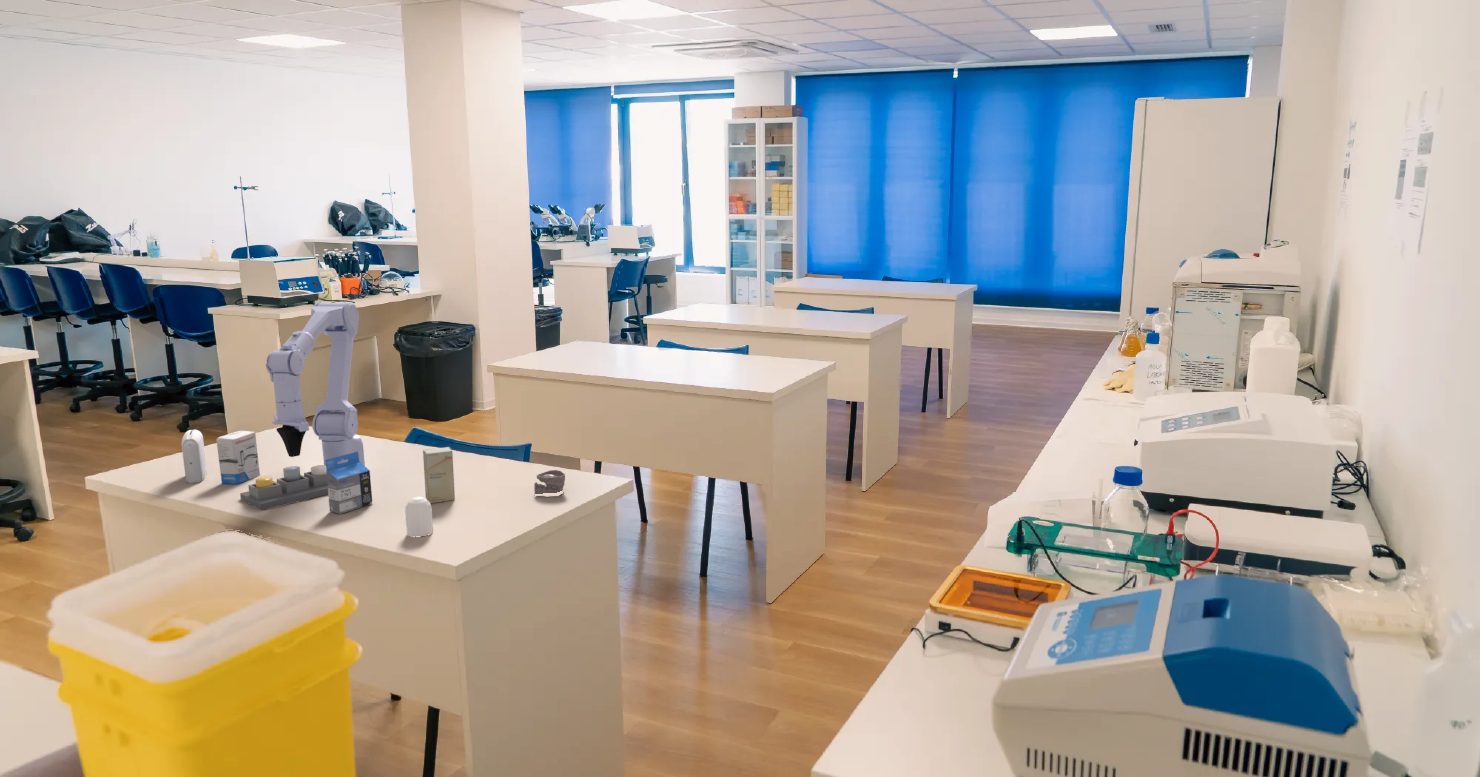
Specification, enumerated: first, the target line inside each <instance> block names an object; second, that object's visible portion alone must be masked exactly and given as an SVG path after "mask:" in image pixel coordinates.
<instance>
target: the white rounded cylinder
mask: <svg viewBox="0 0 1480 777" xmlns="http://www.w3.org/2000/svg"><path fill="white" fill-rule="evenodd" d="M431 504H432V503H429V501H428V500H427V499H426V497H422V496H413V497H412V498H411V499H409V500H408V502H407V503H406V505H405V508H404V509H405V511H404V512H405V513H404V514H405V522H406V523H405V524H406V525H405V526H406V535H407V534H408V535H407V536H408V537H409V536H415V537H416V536H425V537H427V536H426V535H428V534H430V533H432V532H433V533H434V525H433V509H432V505H431ZM433 533H432V534H433ZM428 536H429V535H428ZM415 537H414V538H415Z"/></svg>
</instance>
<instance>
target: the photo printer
mask: <svg viewBox="0 0 1480 777" xmlns="http://www.w3.org/2000/svg"><path fill="white" fill-rule="evenodd" d="M203 435H204V434H202V432H201V431H200V430H198V429H189V430H187V431H186V432H185V433H184V434H183V436H182V438H181V452H182V460H183V466H184V476H185V481H186V483H188V484H197V483H201V482H202V481H204V479H205V478H206V475H207V470H208V469H207V459H206V450H205V443H204V436H203Z"/></svg>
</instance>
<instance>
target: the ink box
mask: <svg viewBox="0 0 1480 777" xmlns="http://www.w3.org/2000/svg"><path fill="white" fill-rule="evenodd" d="M256 435H257V434H256V431H251V430H250V431H247V430H238V431H234V432H231V433H228V434H225V435H221V436H218V437H217V438H216V446H217V455H218V456H217V457H218V464H219V471H220V472H219V473H220V480H221V484H228V485H229V484H232V485H239V484H241V483H242V484H243V483H245V482H247V481H249V480H251V479H254V478H256V477H258V476H261V473H260V464H259V454H258V444H257V438H256V437H257V436H256Z"/></svg>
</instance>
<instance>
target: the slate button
mask: <svg viewBox="0 0 1480 777" xmlns="http://www.w3.org/2000/svg"><path fill="white" fill-rule="evenodd" d="M282 471H283V477H284V481H286V482H292V481H296V480H300V479H301V475H302V474H301V467H300V466H297V465H292V466H291V465H290V466H286V467H284V468H283V469H282Z"/></svg>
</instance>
